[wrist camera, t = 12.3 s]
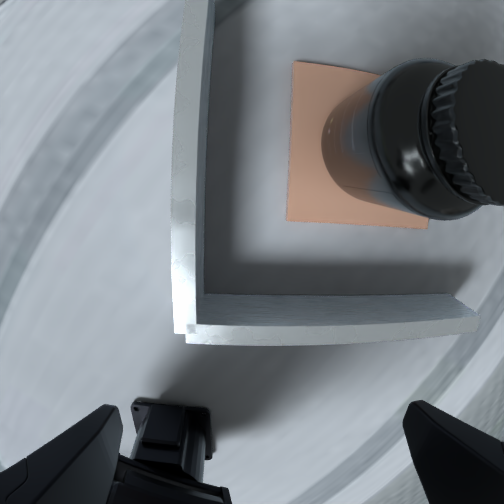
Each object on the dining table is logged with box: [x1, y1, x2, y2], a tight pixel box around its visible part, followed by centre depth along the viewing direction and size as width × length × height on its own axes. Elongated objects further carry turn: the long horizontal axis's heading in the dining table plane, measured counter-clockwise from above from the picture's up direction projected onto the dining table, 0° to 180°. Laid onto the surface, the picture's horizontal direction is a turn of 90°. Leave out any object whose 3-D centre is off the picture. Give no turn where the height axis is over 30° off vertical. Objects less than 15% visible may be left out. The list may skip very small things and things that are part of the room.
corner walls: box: [171, 0, 481, 346], centre depth 17 cm, size 20×20×4 cm
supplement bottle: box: [321, 58, 504, 221], centre depth 13 cm, size 7×7×12 cm
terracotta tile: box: [286, 61, 429, 229], centre depth 19 cm, size 10×10×1 cm
